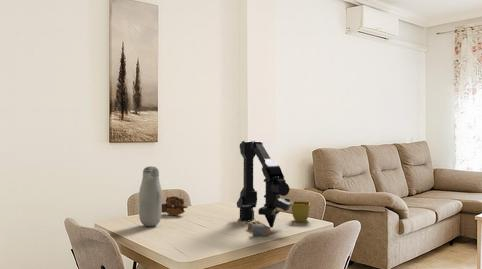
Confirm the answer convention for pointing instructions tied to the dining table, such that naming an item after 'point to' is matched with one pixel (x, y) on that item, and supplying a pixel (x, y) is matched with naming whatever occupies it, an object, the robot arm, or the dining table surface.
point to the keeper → (259, 230)
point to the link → (258, 224)
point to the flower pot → (300, 210)
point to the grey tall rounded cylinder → (150, 197)
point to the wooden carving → (174, 206)
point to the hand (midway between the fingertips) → (271, 227)
